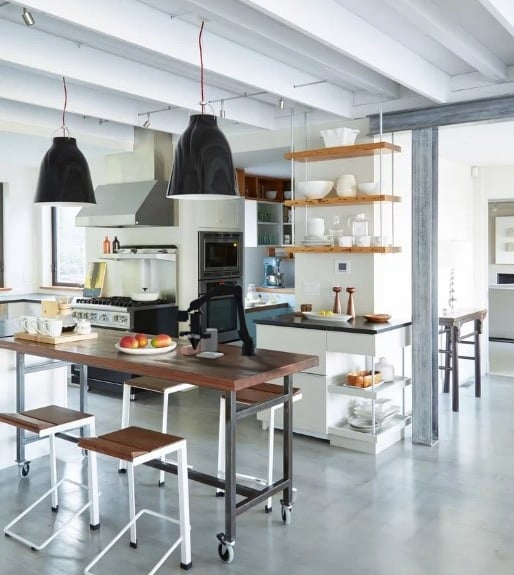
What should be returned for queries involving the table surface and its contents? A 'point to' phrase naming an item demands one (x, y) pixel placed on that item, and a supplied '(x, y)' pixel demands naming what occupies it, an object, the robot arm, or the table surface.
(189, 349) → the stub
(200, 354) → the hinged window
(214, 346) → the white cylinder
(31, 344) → the table surface
